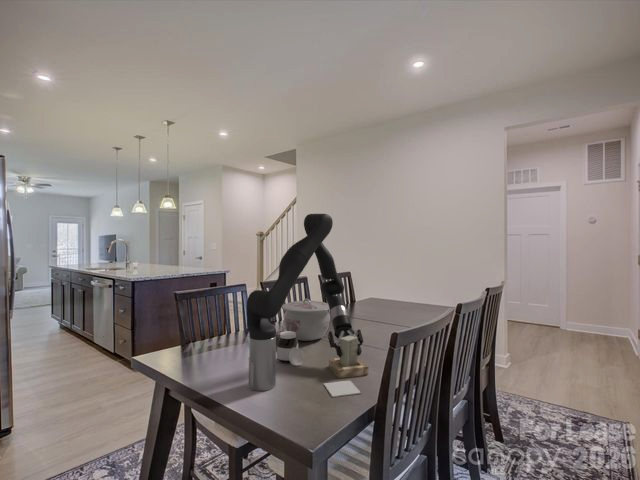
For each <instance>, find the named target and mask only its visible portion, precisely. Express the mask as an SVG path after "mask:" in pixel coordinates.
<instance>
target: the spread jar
mask: <svg viewBox="0 0 640 480" xmlns="http://www.w3.org/2000/svg"><path fill="white" fill-rule="evenodd" d="M276 360H277V361H278V362H279V363H282V364H286V365H287V364H291V365H292V366H295V367H296V366H300V365H302V363H303V362H304V353H303V350H302V349H300V348H299V340H297V338H296V333H295V332H292V331H287V330H286V331H281V332H280V333H279V339H278V341H277V344H276Z"/></svg>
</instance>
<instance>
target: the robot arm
mask: <svg viewBox="0 0 640 480" xmlns="http://www.w3.org/2000/svg"><path fill="white" fill-rule="evenodd" d="M333 225H334V224H333V218H332V216H331V215H330V214H327V213H308V214H307V215H306V216H305V217H304V220H303V228H304V232H305V234H306V236H305V237H303V238H301V239H300V240H298V241H297V242H295V243H293V245H291V246H290V247H289V248H288V249H287V250H286V252H285V253H284V255H283V256H282V257H281V259H280V262H279V265H278V266H279V267H278V278H277V279H276V281H275V283H274V284H273V285H272V287H271V288H270V289H269V291H268V290H262V289H255V290H254V291H252V292H250V294H249V295H248V296H247V300H246V305H245V306H246V309H245V310H246V327H247V331H248V334H249V336H248V337H249V341H248V342H249V347H248V348H249V349H248V350H249V352H248V353H249V354H248V356H249V357H248V388H249V391H258V392H259V391H261V392H263V391H269V390H271V389H274V388H275V387H276V386H277V385H276V383H277V378H276V377H277V375H276V373H277V370H276V369H277V364H276V363H277V330H276V327H275V326H274V325H273V324H272V322H270V319H273V318H275V317H276V316H277V315H278V314H279V313H280V311H281V309H282V308H281V307H282V305H283V304H285V301H286V299H287V298H288V295H289V294H290V291H291V290H292V288H293V287H294V285H295V283H296V282H297V280H298V278H299V277H300V275H301V273H302V272H303V271H304V269H305V268H306V266H307V265H308V263H309V261H311V258H312V256H313V255H315V257H316V260H317V264H318V268H319V271H320V274H321V278H323V279H325V280H326V281H323V282H322V283H321V285H320V291H321V293H322V295H323V297H324V298H325V300H326V303H328V305H329V308H330V310H329V312H330V313H329V314H330V321H331V322H332V328H333V330H334V331H331V330H330V331H328V332H327V333H328V334H327V337H328V338H327V339H328V343H329V346H330V348H334V349H335V352H336V356H337V357H338V358H340V357H341V356H342V352H341V348H340V338H342V337H346V336H349V335H350V336H354V337H358V355H357V357H358V356H361V355H362V348H361V346H362V345H363V343H364V338H363V334H362V332H361V329H356V330H354V328H353V326H352V323H351V318H350V316H349V312H348V309H347V308H346V307H347V306H346V303H345V300H344V298H343V297H342V296H341V294H343V293H344V290H345V285H344V283H343V280H341V278H340V276H339V274H338V271H337V268H336V264H335V260H334V257H333V255H332V254H331V253H330V251H329V249H328V248H327V247H326V246H325V244H324V241H325V240H326V238H327V237H328V235H330V232H331V231H332V229H333ZM334 337H335V338H336V339H337V340H336V342H335V339H334Z"/></svg>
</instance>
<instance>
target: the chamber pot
mask: <svg viewBox="0 0 640 480" xmlns="http://www.w3.org/2000/svg"><path fill="white" fill-rule="evenodd" d="M281 309H282V310H284V311H285V312H284V314H283V323H284V327H285V330H286V331H292V332H295V333H296V338H297V340H298V341H301V342H313V341H316V340H319V339H322V338H323V337H324V336H325V334H326V333H327V331H328V329H329V327H330V322H331V313H329V312H330V308H329V305H328V302H324V301H318V300H310V299H309V298H304V299H303V300H295V301H290V302H286V303H284V304H283V305H282V307H281Z"/></svg>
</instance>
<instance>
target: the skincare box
mask: <svg viewBox="0 0 640 480" xmlns="http://www.w3.org/2000/svg"><path fill="white" fill-rule="evenodd" d="M354 336H355V335H354ZM354 336H350V335H349V336H346V337H342V338H340V344H339V346H340V348H341V352H342V356H341V357H339V358H340V366H341V367H351V366H357V357H358V337H357V336H355V337H354Z"/></svg>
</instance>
